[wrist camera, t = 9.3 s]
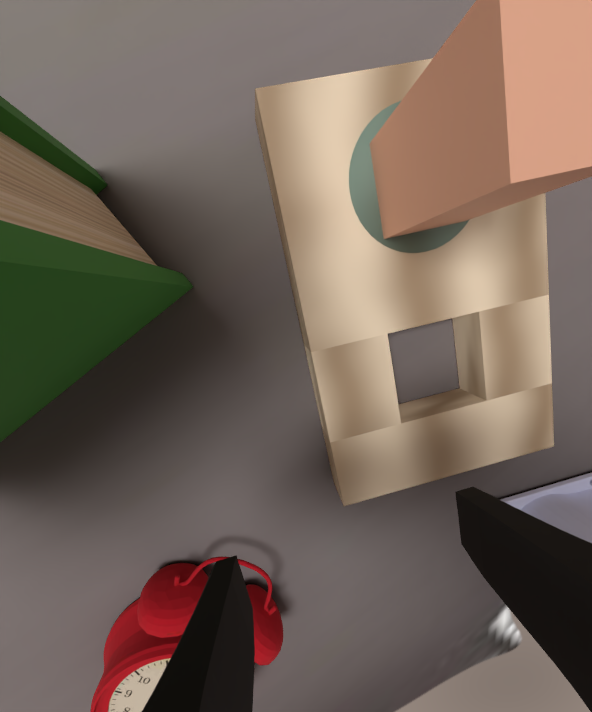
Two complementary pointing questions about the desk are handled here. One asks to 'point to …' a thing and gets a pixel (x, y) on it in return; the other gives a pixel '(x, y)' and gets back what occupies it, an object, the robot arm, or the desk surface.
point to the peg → (490, 117)
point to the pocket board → (402, 295)
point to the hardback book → (63, 271)
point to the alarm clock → (170, 634)
